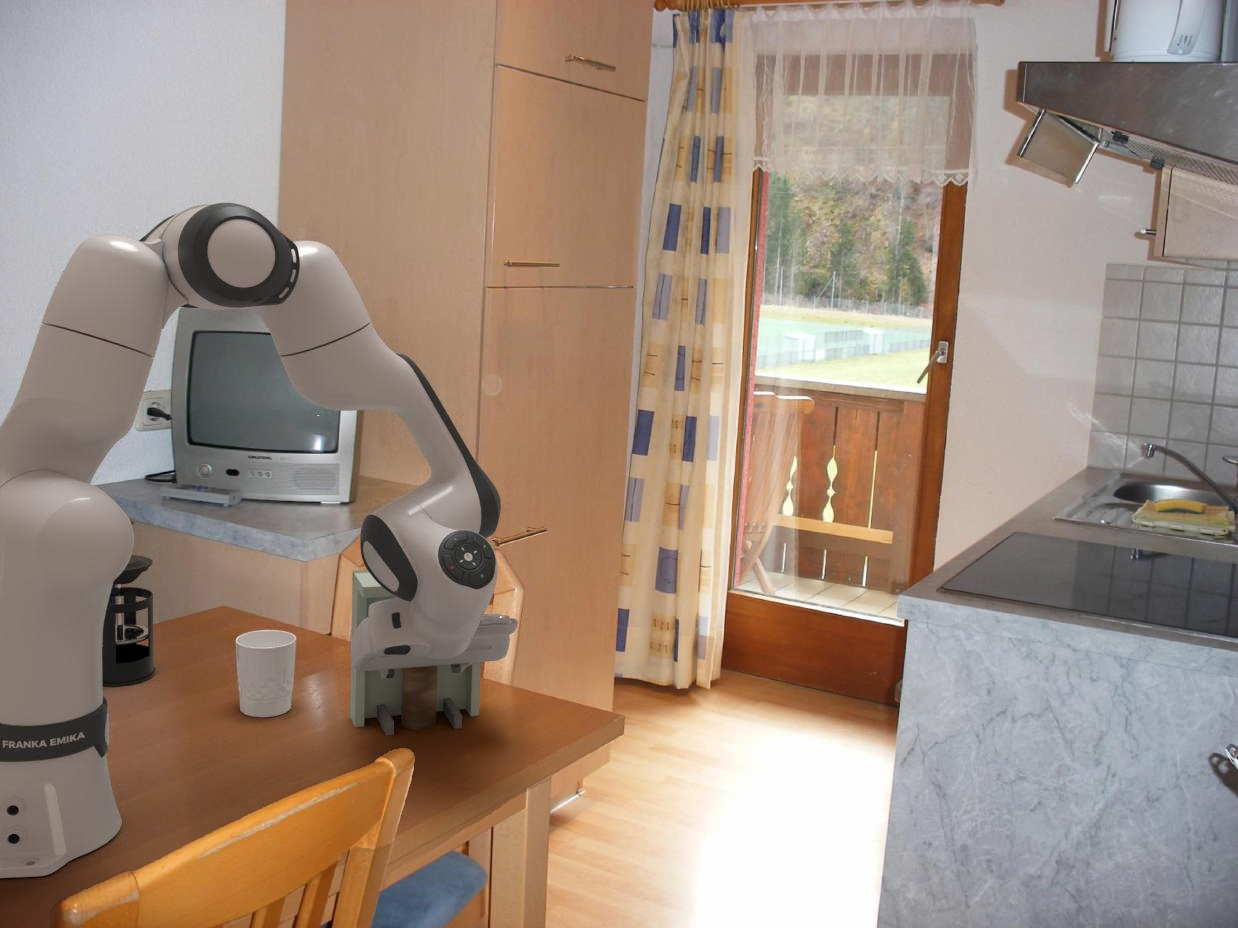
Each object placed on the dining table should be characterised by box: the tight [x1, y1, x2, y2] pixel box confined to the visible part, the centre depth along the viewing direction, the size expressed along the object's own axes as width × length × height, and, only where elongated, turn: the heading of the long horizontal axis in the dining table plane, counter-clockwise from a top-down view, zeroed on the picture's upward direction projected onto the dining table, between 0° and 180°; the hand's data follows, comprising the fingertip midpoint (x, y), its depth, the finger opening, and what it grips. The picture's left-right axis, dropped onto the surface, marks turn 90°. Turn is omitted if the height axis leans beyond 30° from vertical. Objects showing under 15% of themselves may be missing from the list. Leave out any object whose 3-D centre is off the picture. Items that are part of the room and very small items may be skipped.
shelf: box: [349, 569, 482, 736], centre depth 158 cm, size 17×8×20 cm, turn 112°
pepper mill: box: [400, 665, 438, 731], centre depth 158 cm, size 5×5×11 cm
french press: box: [102, 519, 156, 688], centre depth 168 cm, size 12×9×23 cm
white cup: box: [235, 629, 297, 718], centre depth 160 cm, size 8×8×10 cm
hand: (421, 670), depth 157 cm, fingers open, 8 cm apart
